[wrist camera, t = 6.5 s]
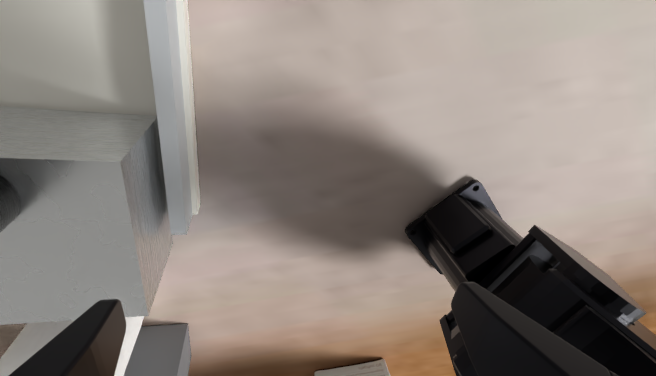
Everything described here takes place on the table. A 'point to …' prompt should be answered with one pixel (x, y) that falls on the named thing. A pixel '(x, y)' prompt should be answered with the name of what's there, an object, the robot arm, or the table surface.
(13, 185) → the block
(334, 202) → the table surface
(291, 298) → the table surface
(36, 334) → the white pouch
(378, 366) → the supplement box
